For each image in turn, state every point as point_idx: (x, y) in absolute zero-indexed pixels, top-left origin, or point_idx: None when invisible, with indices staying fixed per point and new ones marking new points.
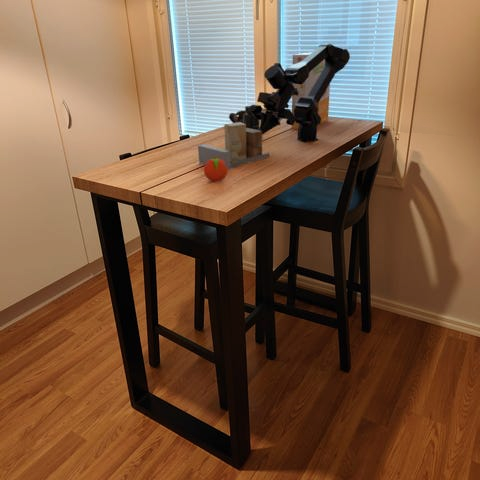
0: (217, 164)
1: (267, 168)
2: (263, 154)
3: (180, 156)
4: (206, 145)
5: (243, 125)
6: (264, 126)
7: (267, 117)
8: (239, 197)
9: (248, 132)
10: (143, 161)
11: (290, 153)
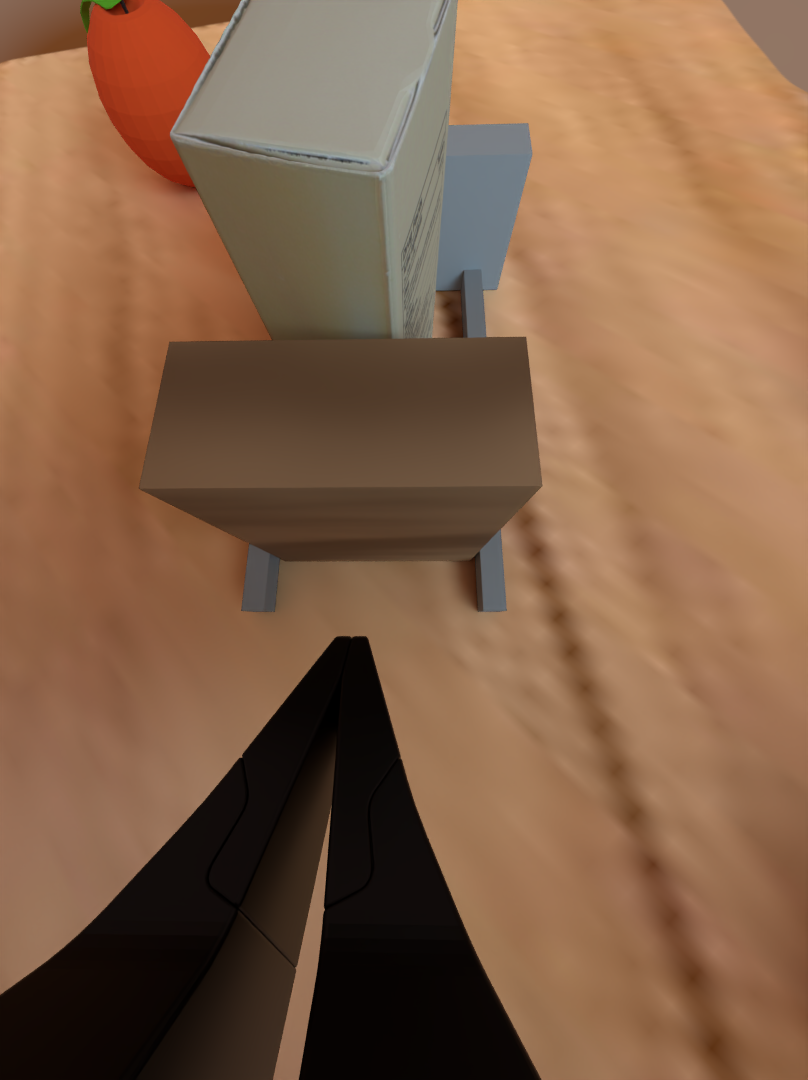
0: (82, 10)
1: (109, 419)
2: (255, 549)
3: (690, 267)
4: (474, 151)
5: (194, 121)
6: (267, 725)
7: (109, 1022)
8: (6, 140)
9: (263, 345)
10: (721, 130)
11: (168, 795)
